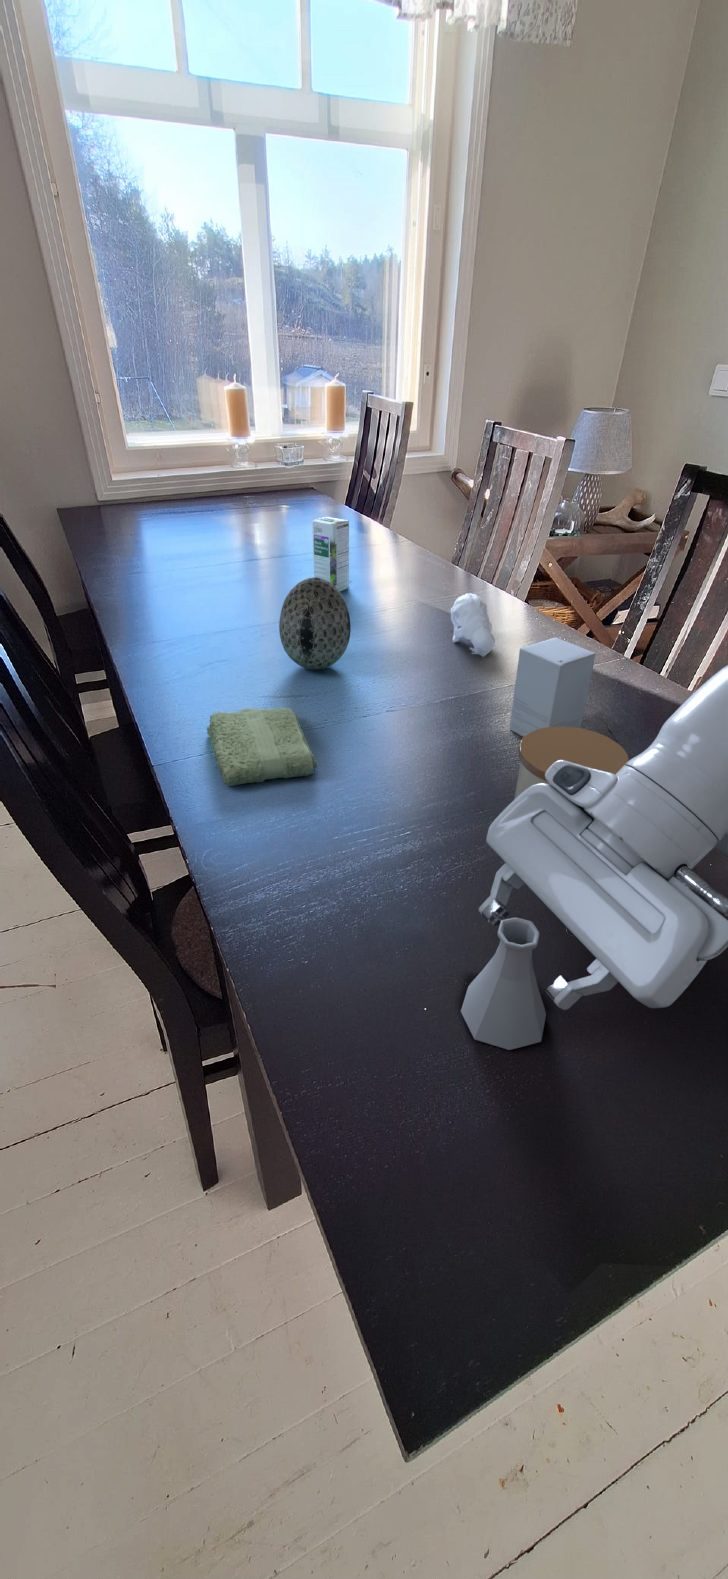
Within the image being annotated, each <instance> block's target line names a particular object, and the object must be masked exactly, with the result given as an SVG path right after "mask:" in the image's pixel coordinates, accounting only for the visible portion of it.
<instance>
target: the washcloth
mask: <svg viewBox="0 0 728 1579" xmlns="http://www.w3.org/2000/svg"><path fill="white" fill-rule="evenodd" d="M300 724H301V722H300V719H299V718H298V715H297V712H296V711H295V710H294V709H292V708H288V707H276V708H244V709H240V710H238V711H234V712H233V711H232V712H227V711H216V712H213V713H212V715H210V716H209V725H208V726H207V727H206V734H207V736H208V738H209V742H210V745H211V748H212V752H213V756H214V759H215V762H216V767H217V768H218V771H219V773H220V775H221V777H222V781H223V783H224V784H225V785H227V786H228V787H233V786H238V785H242V784H247V783H248V784H249V783H250V784H252V783H253V784H254V783H263V782H264V781H266V780H272V779H278V778H282V779H290V778H298V777H308V776H309V775H313V774H314V773H315V770H314V769H316V768H317V766H318V765H319V764H318V761H317V760H316V758H315V756H314V753H313V751H312V750H311V748H310V745H309V743H308V740H307V739H306V737H305V734H304V732H303V730H302V726H301V725H300Z"/></svg>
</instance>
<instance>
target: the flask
mask: <svg viewBox="0 0 728 1579" xmlns="http://www.w3.org/2000/svg"><path fill="white" fill-rule="evenodd" d="M497 937H498V939H499V944H498V946H497V949H496V950H495V953H494V954H493V956H492V957H491V958H490V960H489V961H488V963H486V965H485V966H484V967H483V969H482V970H481V971H480V972H479V973H478V975H477V976H476V977H475V978H473V980H472V981H471V982H470V983H469V985H468V987H467V989H466V993H465V996H464V999H463V1003H462V1007H461V1009H460V1014H461V1015H462V1017H463V1019H464V1022H465V1023H466V1025H467V1028H468V1029H469V1031H470V1033H471V1035H472V1037H473V1039H474V1040H475V1041H479V1042H481V1043H485V1044H488V1045H491V1046H496V1047H497V1048H502V1049H505V1050H507V1051H511V1050H515V1049H518V1048H522V1047H526V1046H530V1045H534V1044H538V1043H540V1042H542V1038H543V1035H544V1034H543V1033H544V1028H545V1022H546V1018H547V1017H546V1016H547V1012H546V1008H545V1005H544V1002H543V999H542V996H541V992H540V989H539V986H538V982H537V978H536V974H535V970H534V966H533V965H534V964H533V962H534V961H533V950H534V949H536V948H537V947H538V944H539V943H538V942H539V939H540V938H539V937H540V931H539V929H538V928H537V927H536V925H535V924H534V922H533V921H531V920H528V919H524V918H520V917H511V918H505V919H502V920H501V923H500V924H499V925H498V930H497Z"/></svg>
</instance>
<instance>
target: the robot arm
mask: <svg viewBox="0 0 728 1579" xmlns="http://www.w3.org/2000/svg"><path fill="white" fill-rule="evenodd" d="M545 778H546V780H547V781H548V782H549V783H550V784H551V785H552V786H551V785H549V784H546V783H539V784H535V785H533V786H531V787H529V788H528V789H526V790H525V791H524V792H522V793H521V794H520V795H519V796H518V797H517V798H516V799H515V800H514V799H513V800H512V801H511V802H510V803H509V804H508V805H507V806H506V807H505V808H504V809H503V810H502V811H501V812H500V813H499V815H497V817H496V818H495V819H494V820H493V821H492V822H491V824H490V826H488V831H487V833H486V840H485V841H486V844H487V845H488V846H489V847H490V848H491V849H492V850H493V851H494V852H495V853H496V854H497V855H498V857H500V858H501V859H502V860H503V861H504V864H502V865H501V867H500V868H499V869H498V870H497V871H496V872H495V876H494V879H493V882H492V886H491V890H490V893H489V894H490V895H489V896H488V897H487V899H485V901H484V902H483V903H482V904H480V906H479V907H478V912H479V913H480V915H481V916H482V917H483V918H484V919H485V921H486V922H487V923H488V924H491V925H492V926H493V927H497V926H498V927H499V926H500V923H501V920H505V919H507V917H509V915H510V914H511V911H510V910H509V909H508V908H507V905H508V902H509V899H510V896H511V894H512V891H513V888H514V889H516V890H520V888H521V887H523V886H524V884H525V885H526V886H527V887H528V888H529V889H530V890H531V891H532V892H533V893H534V894H535V895H536V896H537V898H538V899H539V900H541V902H542V903H543V904H544V905H545V906H546V907H547V908H548V909H549V910H550V911H551V913H553V914H554V915H555V916H556V918H557V919H559V920H560V922H561V923H563V925H564V926H565V927H566V928H567V929H568V930H569V931H570V932H571V934H573V935H574V936H575V938H577V939H578V941H580V943H581V944H582V945H583V946H584V947H585V948H586V949H587V950H588V951H589V952H590V953H591V954H592V956H594V957H595V959H594V960H593V961H592V962H591V963H590V964H589V965H588V966H587V967H586V971H587V972H588V973H589V974H590V975H587V976H584V977H581V978H577V979H574V980H570V979H569V978H566V977H565V976H563V975H560V974H559V976H558V977H557V978H555V980H554V981H553V984H550V985H549V986H548V987H547V988H546V989H545V993H546V994H547V996H548V997H549V998H550V999H551V1000H552V1002H553V1003H554V1004H555V1006H557V1007H558V1008H559V1009H561V1010H563V1011H567V1010H569V1009H570V1008H571V1007H572V1006H573V1005H574V1004H576V1002H577V1001H579V1000H580V998H582V997H583V996H584V997H586V996H591V995H594V994H599V993H603V992H608V991H611V990H612V989H613V988H614V987H615V986H616V985H618V983H619V984H620V985H621V986H622V987H623V988H624V989H625V990H626V991H627V992H628V993H629V994H630V995H631V997H633V998H634V999H635V1000H636V1001H638V1002H639V1003H641V1004H642V1005H644V1006H646V1007H647V1008H648V1009H649V1008H650V1009H663V1008H664V1009H665V1008H668V1007H670V1006H671V1005H673V1004H674V1002H675V1001H676V1000H678V998H680V997H681V995H682V994H683V993H684V992H685V990H686V989H687V988H688V987H689V986H690V985H691V983H692V982H693V981H694V979H696V977H697V976H698V975H699V973H700V972H701V970H702V969H703V968H704V966H705V965H706V963H707V962H708V961H709V960H712V959H715V958H717V957H718V956H720V955H721V954H722V953H723V952H724V951H725V950H726V949H727V948H728V919H727V918H726V917H728V897H726V896H725V895H724V894H722V893H721V892H718V891H716V890H715V889H714V888H713V887H712V886H710V885H709V883H707V881H706V880H704V879H703V878H702V877H701V876H700V875H699V874H697V872H695V871H694V870H693V869H694V868H695V867H696V866H697V865H698V864H699V863H700V861H702V860H703V859H704V858H705V857H706V856H707V855H708V854H709V852H711V851H712V850H713V849H715V850H716V851H718V852H719V853H721V854H722V855H723V856H725V857H727V858H728V664H726V666H724V667H722V668H721V669H720V670H718V671H717V672H716V673H715V674H714V675H712V676H711V677H710V678H708V680H706V681H705V682H703V684H702V685H700V686H699V688H698V689H696V690H695V691H694V692H693V693H692V694H691V695H690V696H689V697H688V698H687V699H686V700H685V701H684V702H683V703H682V704H681V705H680V706H679V707H678V708H677V709H676V710H675V711H674V712H673V713H672V714H671V715H670V716H669V717H668V719H666V721H665V722H664V723H663V725H662V726H661V728H660V730H659V732H658V733H657V736H656V737H655V739H653V742H652V743H651V744H650V745H649V746H648V747H647V748H646V749H644V751H642V752H640V753H639V754H637V755H635V756H634V757H632V758H631V759H629V761H628V762H627V763H626V764H625V765H624V766H623V767H622V768H621V769H620V770H619V771H618V772H617V773H616V774H613V773H610V772H605V771H601V770H597V769H593V768H589V767H585V766H582V765H578V764H575V763H572V762H568V761H565V760H558V761H556V762H554V763H553V764H552V766H550V767H549V768H548V770H547V771H546V773H545Z"/></svg>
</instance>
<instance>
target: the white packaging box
mask: <svg viewBox="0 0 728 1579" xmlns="http://www.w3.org/2000/svg"><path fill="white" fill-rule="evenodd" d="M596 654H597V653H596V652H595V651H592V650H588V649H586V648H583V647H581V646H578V645H576V644H575V643H571V642H569V641H567V640H564V639H561V638H559V637H557V636H555V637H552V638H548V639H546V640H542V641H538V642H536V643H532V644H530V645H529V644H528V645H526V646H522V647H519V653H518V661H517V668H516V676H515V683H514V689H513V690H514V691H513V697H512V706H511V714H510V720H509V728H508V729H509V730H510V731H512V732H514V733H516V734H517V735H519V736H521V737H522V738H524V737H525V736H526V735H527V734H529V733H530V732H532V731H535V730H537V729H541V728H546V727H554V726H566V727H576V728H582V725H583V719H584V714H585V710H586V704H587V699H588V695H589V690H590V684H591V680H592V674H593V670H594V666H595V665H594V664H595V659H596Z"/></svg>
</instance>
